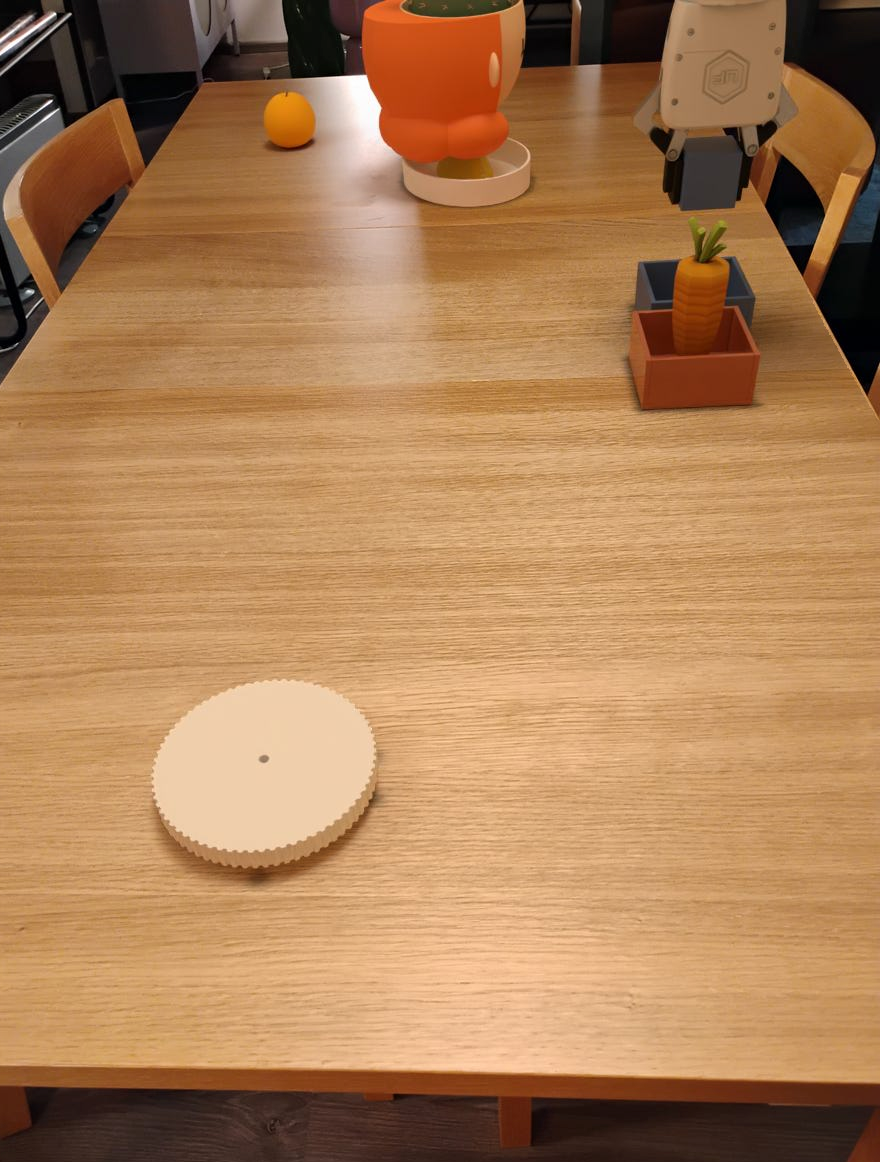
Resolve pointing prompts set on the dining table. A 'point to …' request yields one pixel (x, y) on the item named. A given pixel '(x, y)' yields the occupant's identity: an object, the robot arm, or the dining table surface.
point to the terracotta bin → (692, 363)
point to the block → (710, 173)
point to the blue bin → (660, 280)
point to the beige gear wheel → (265, 773)
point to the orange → (289, 120)
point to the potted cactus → (449, 95)
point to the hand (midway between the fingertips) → (703, 195)
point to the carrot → (700, 293)
